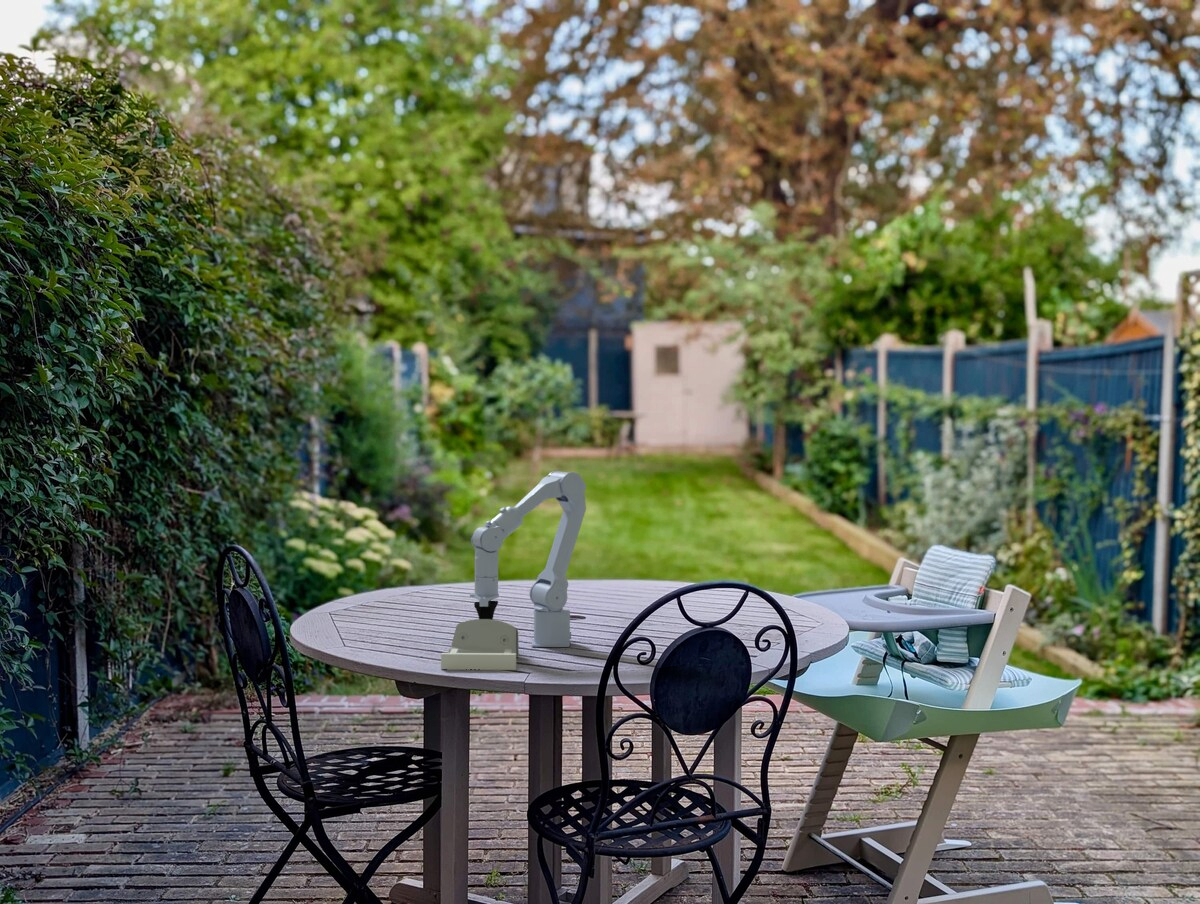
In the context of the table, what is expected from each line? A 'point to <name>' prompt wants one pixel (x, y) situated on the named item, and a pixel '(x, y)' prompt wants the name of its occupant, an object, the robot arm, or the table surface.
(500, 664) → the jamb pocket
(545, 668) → the table surface
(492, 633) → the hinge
